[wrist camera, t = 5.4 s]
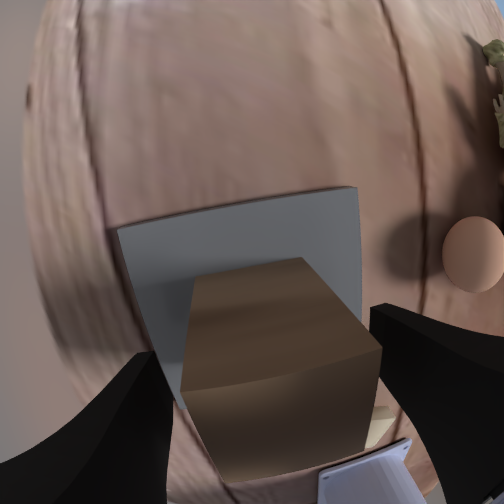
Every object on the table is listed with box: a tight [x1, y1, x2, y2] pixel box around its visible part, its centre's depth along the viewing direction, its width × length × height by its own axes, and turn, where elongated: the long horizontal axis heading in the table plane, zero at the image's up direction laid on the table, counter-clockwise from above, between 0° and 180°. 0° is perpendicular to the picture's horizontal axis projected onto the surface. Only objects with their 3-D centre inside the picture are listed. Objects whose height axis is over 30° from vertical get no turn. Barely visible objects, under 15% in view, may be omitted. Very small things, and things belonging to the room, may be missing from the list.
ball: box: [442, 216, 504, 293], centre depth 11 cm, size 4×4×4 cm
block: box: [180, 257, 383, 483], centre depth 8 cm, size 4×4×6 cm
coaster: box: [117, 186, 362, 409], centre depth 12 cm, size 9×9×1 cm
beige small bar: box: [365, 406, 396, 448], centre depth 15 cm, size 6×3×2 cm, turn 74°
